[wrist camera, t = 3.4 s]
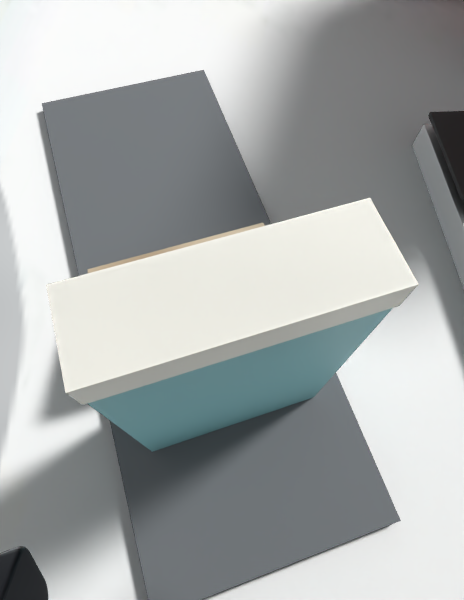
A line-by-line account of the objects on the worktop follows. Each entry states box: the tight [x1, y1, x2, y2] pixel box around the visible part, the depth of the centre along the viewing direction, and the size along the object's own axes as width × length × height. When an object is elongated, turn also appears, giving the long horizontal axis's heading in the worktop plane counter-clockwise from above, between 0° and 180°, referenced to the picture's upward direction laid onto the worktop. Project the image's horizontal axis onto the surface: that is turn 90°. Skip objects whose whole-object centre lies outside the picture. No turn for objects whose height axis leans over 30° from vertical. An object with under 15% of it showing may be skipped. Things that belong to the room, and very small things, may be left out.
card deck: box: [46, 198, 419, 452], centre depth 13 cm, size 2×7×10 cm, turn 108°
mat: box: [42, 70, 401, 600], centre depth 20 cm, size 24×9×1 cm, turn 18°
